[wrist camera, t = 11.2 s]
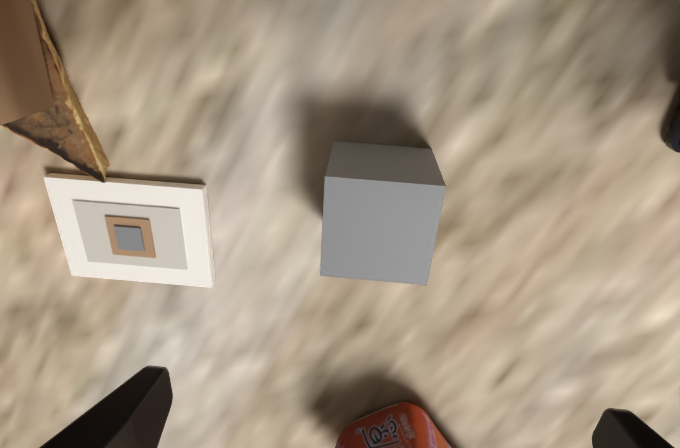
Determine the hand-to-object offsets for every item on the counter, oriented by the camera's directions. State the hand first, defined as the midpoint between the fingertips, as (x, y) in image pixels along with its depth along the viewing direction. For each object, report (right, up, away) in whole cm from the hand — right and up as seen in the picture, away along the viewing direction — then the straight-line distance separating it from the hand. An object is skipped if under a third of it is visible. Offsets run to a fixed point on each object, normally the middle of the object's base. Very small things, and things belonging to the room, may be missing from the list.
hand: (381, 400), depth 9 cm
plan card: (-10, +3, +11) cm, 16 cm away
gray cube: (+1, +5, +10) cm, 11 cm away
